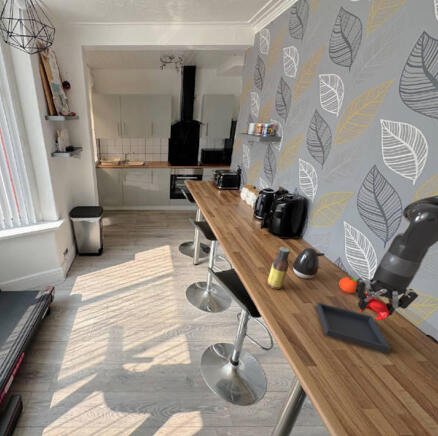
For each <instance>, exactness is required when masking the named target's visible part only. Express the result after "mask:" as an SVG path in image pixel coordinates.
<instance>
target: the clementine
mask: <svg viewBox="0 0 438 436" xmlns="http://www.w3.org/2000/svg"><path fill="white" fill-rule="evenodd" d="M357 280H358V279H357V278H353V277H349V276H345V277H343V278H341V279H340V280H339V282H338V286H339V288H340V289H341V291H343V292H345V293H347V294H356V293H355V290H356V285H357Z"/></svg>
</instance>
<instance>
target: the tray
mask: <svg viewBox="0 0 438 436" xmlns="http://www.w3.org/2000/svg"><path fill="white" fill-rule="evenodd" d="M315 308H316V312H317V314H318V317H319V320H320V323H321V325H322V329H323V332H324V335H325V336H327V337H330V338H334V339H337V340H340V341H344V342H346V343H349V344H350V343H351V344H354V345H357V346H361V347H364V348H368V349H370V350H374V351H377V352H381V353H384V354H388V353H389V352H390V350H391V346H390V344H389V343H388V341H387V339H386V337H385V336H384V334H383V333H382V332H381V331H382V330H380V328H379V326H378V324H377V323H376V322H375V321H376V320H375V319H374V318H373V316H372V315H367V314H364V313H361V312H360V313H359V312H357V311H352V310H348V309H345V308H340V307H336V306H333V305H330V304H325V303H322V302H317V305H316V307H315Z"/></svg>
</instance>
